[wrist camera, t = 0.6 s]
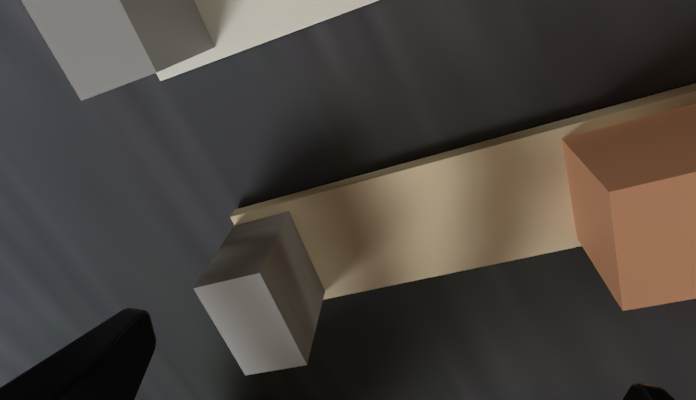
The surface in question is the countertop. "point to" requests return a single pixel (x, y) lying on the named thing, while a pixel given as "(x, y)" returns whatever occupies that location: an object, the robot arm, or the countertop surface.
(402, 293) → the countertop surface
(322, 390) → the countertop surface
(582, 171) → the terracotta block
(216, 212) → the countertop surface
